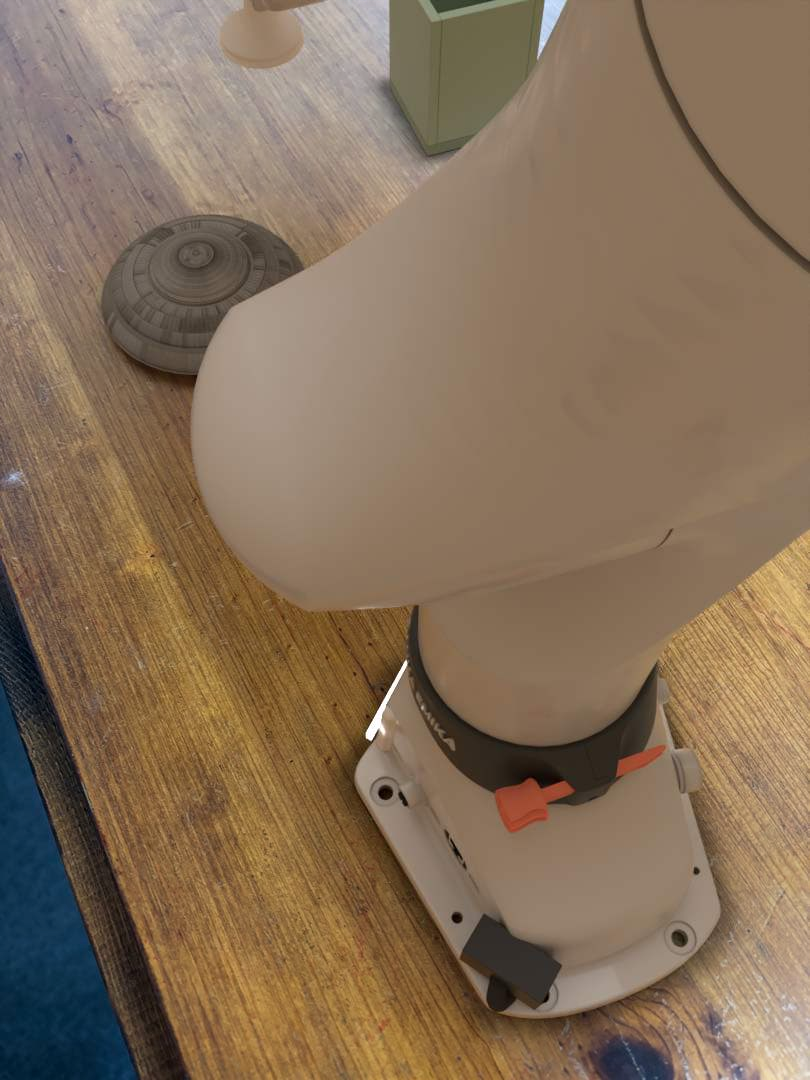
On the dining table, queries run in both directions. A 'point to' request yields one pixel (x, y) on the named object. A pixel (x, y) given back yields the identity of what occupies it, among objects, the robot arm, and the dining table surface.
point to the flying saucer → (188, 285)
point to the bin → (459, 63)
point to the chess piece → (260, 37)
